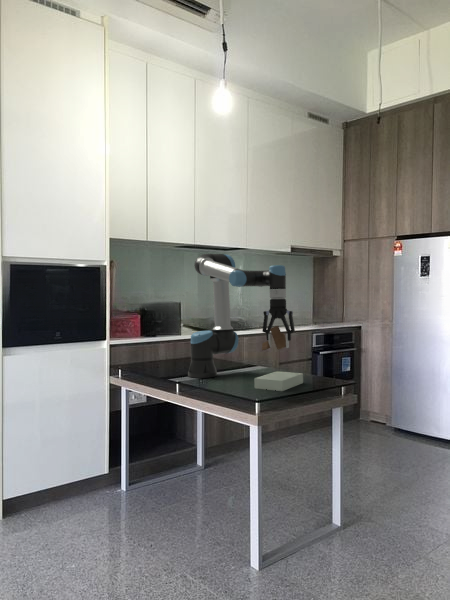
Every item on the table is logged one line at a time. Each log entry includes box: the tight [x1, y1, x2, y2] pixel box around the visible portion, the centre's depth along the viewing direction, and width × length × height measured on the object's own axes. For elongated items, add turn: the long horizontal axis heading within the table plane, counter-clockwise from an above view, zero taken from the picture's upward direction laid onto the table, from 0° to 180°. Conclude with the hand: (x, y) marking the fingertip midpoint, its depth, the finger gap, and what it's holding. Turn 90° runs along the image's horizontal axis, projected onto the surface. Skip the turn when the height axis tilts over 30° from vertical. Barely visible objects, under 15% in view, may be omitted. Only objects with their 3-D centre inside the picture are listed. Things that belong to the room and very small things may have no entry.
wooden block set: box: [261, 325, 286, 351], centre depth 233 cm, size 18×9×10 cm, turn 146°
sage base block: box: [253, 370, 304, 392], centre depth 232 cm, size 14×22×5 cm, turn 147°
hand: (278, 347), depth 232 cm, fingers closed on wooden block set, 8 cm apart
